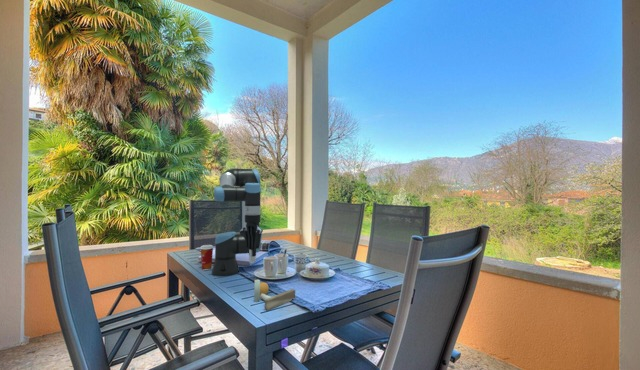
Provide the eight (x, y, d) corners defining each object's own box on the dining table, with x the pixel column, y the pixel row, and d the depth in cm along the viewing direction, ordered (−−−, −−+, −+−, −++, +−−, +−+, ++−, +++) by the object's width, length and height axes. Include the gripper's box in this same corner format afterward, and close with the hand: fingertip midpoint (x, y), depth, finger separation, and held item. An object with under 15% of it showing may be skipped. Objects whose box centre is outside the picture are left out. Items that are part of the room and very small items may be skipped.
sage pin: (253, 300, 125) (253, 280, 126) (257, 299, 127) (257, 279, 127) (256, 302, 124) (256, 281, 124) (260, 300, 126) (261, 280, 126)
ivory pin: (264, 298, 129) (276, 303, 123) (259, 299, 127) (272, 305, 121) (264, 293, 129) (277, 298, 123) (260, 294, 127) (272, 299, 121)
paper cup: (199, 267, 177) (200, 245, 177) (213, 266, 180) (213, 244, 180) (199, 270, 170) (200, 247, 170) (213, 269, 173) (213, 246, 173)
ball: (262, 291, 127) (259, 300, 130) (272, 286, 131) (269, 295, 134) (254, 282, 130) (252, 291, 133) (265, 277, 134) (262, 286, 137)
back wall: (264, 309, 117) (264, 299, 117) (292, 297, 129) (292, 289, 129) (267, 310, 116) (267, 300, 116) (295, 298, 128) (295, 290, 128)
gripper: (238, 214, 140) (237, 261, 140) (254, 215, 131) (254, 266, 131) (250, 212, 145) (250, 258, 145) (267, 214, 137) (267, 263, 137)
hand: (252, 262), depth 138 cm, fingers closed
